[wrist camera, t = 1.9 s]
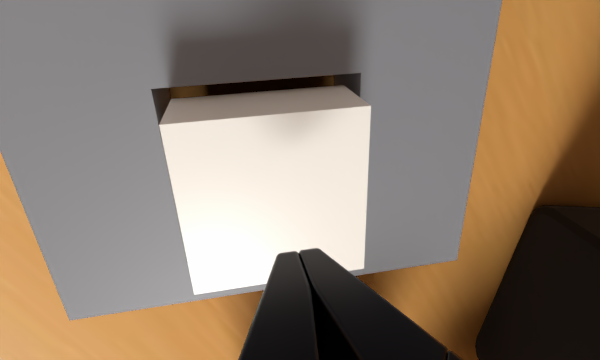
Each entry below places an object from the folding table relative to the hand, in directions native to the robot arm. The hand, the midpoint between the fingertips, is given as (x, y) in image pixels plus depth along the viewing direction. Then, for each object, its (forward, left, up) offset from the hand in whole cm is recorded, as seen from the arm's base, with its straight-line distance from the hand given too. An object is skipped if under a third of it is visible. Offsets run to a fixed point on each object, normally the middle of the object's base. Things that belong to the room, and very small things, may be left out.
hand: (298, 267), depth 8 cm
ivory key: (0, 0, -5) cm, 5 cm away
